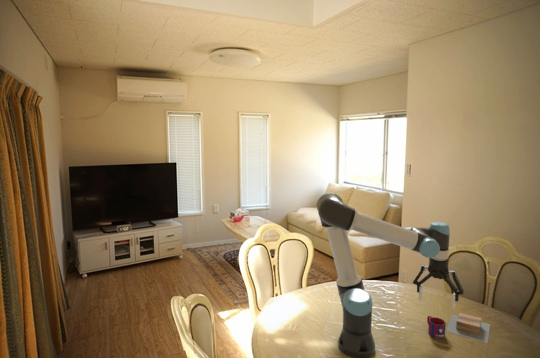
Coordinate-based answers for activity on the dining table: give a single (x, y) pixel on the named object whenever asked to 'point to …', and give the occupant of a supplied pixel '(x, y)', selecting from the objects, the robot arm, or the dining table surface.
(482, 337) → the mat
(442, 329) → the mug
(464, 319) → the base block
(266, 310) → the dining table surface
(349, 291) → the robot arm
